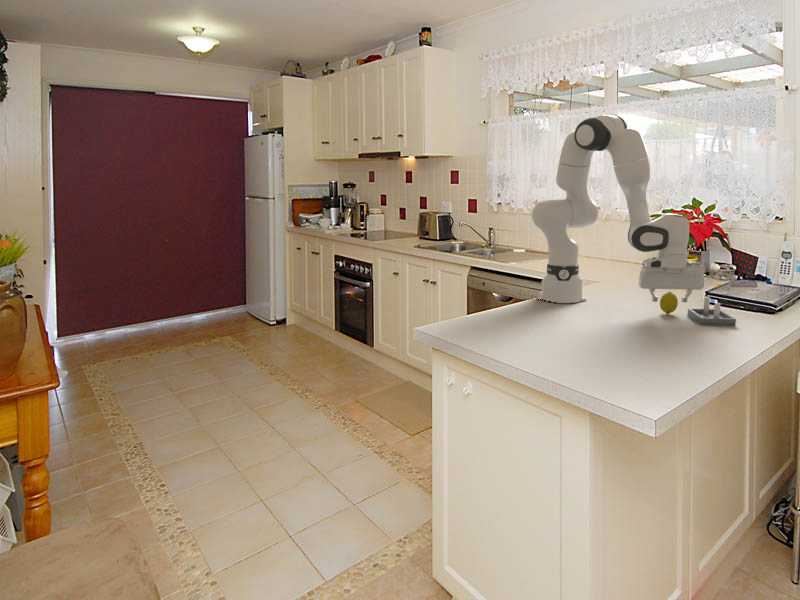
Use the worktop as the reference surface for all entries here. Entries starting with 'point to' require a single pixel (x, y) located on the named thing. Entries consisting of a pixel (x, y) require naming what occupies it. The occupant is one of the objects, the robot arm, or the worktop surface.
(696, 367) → the worktop surface
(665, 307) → the lemon
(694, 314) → the tray
